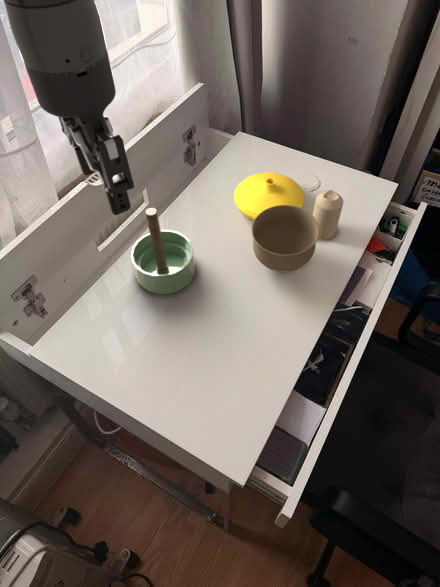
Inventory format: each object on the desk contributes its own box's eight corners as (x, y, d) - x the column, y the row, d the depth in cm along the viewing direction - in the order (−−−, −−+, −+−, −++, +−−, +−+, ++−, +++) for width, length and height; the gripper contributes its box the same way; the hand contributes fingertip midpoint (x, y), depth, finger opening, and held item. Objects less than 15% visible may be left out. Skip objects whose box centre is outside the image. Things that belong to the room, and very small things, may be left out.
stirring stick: (160, 279, 87) (148, 218, 74) (155, 271, 88) (141, 210, 75) (171, 273, 88) (160, 212, 74) (165, 266, 89) (154, 204, 76)
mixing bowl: (153, 305, 84) (148, 286, 79) (126, 265, 90) (120, 245, 85) (206, 277, 87) (204, 258, 82) (176, 241, 93) (173, 221, 89)
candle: (314, 218, 97) (322, 182, 89) (338, 226, 95) (348, 190, 87) (306, 235, 94) (313, 199, 86) (330, 242, 92) (340, 207, 84)
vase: (234, 183, 105) (234, 158, 99) (300, 183, 104) (304, 159, 98) (233, 229, 95) (233, 205, 90) (305, 231, 95) (310, 206, 89)
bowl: (237, 267, 89) (238, 232, 81) (272, 231, 95) (275, 195, 87) (290, 296, 84) (296, 262, 76) (323, 256, 90) (332, 221, 82)
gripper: (-1, 31, 41) (55, 171, 54) (51, 96, 34) (101, 239, 47) (73, 12, 44) (110, 150, 57) (137, 68, 36) (162, 212, 49)
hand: (106, 190), depth 52 cm, fingers open, 8 cm apart
